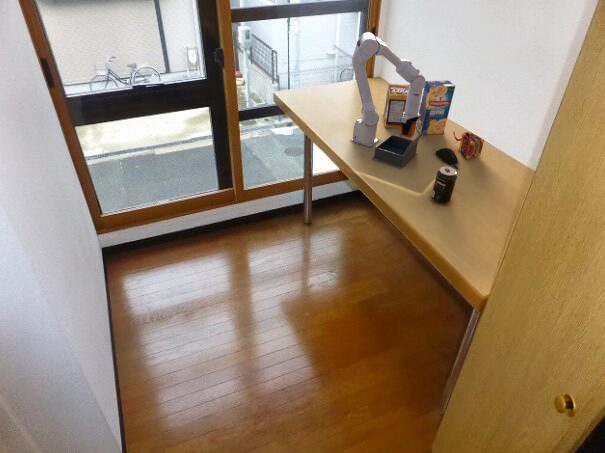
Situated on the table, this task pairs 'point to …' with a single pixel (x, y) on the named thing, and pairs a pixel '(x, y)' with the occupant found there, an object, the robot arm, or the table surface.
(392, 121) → the supplement box
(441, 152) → the gaming mouse
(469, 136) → the book monster
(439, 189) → the beverage can
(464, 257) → the table surface
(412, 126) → the small box
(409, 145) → the flap
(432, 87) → the beverage box
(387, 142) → the storage box
